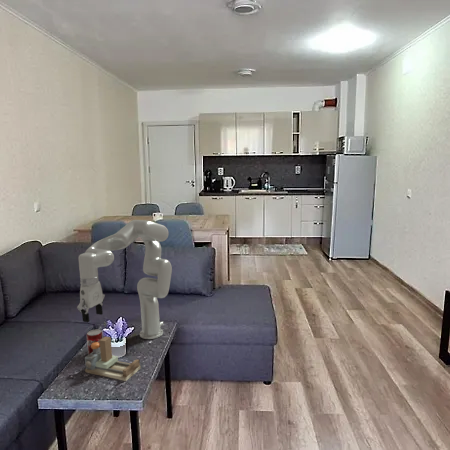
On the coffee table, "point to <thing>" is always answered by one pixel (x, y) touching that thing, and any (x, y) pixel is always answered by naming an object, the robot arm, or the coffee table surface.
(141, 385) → the coffee table surface
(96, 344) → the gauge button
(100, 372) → the rail bed
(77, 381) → the coffee table surface
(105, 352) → the carriage
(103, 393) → the coffee table surface
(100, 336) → the soda can
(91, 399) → the coffee table surface
